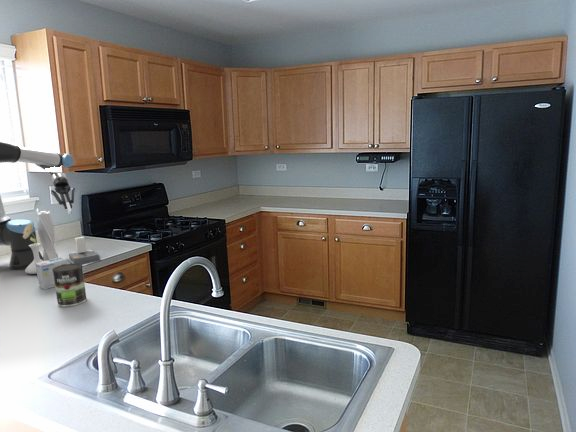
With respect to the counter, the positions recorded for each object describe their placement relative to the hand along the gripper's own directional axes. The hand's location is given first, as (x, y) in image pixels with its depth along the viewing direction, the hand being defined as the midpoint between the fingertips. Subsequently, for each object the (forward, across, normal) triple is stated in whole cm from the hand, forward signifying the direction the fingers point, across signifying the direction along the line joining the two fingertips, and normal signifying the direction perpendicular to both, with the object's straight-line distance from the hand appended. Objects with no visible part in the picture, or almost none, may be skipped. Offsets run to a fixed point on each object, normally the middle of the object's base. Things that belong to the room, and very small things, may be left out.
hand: (70, 212), depth 242 cm
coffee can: (+78, +18, +46) cm, 92 cm away
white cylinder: (+28, +1, +1) cm, 28 cm away
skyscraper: (+24, +14, -8) cm, 29 cm away
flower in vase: (+39, +23, +7) cm, 46 cm away
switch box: (+33, +1, +2) cm, 33 cm away
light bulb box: (+57, +20, +26) cm, 66 cm away
